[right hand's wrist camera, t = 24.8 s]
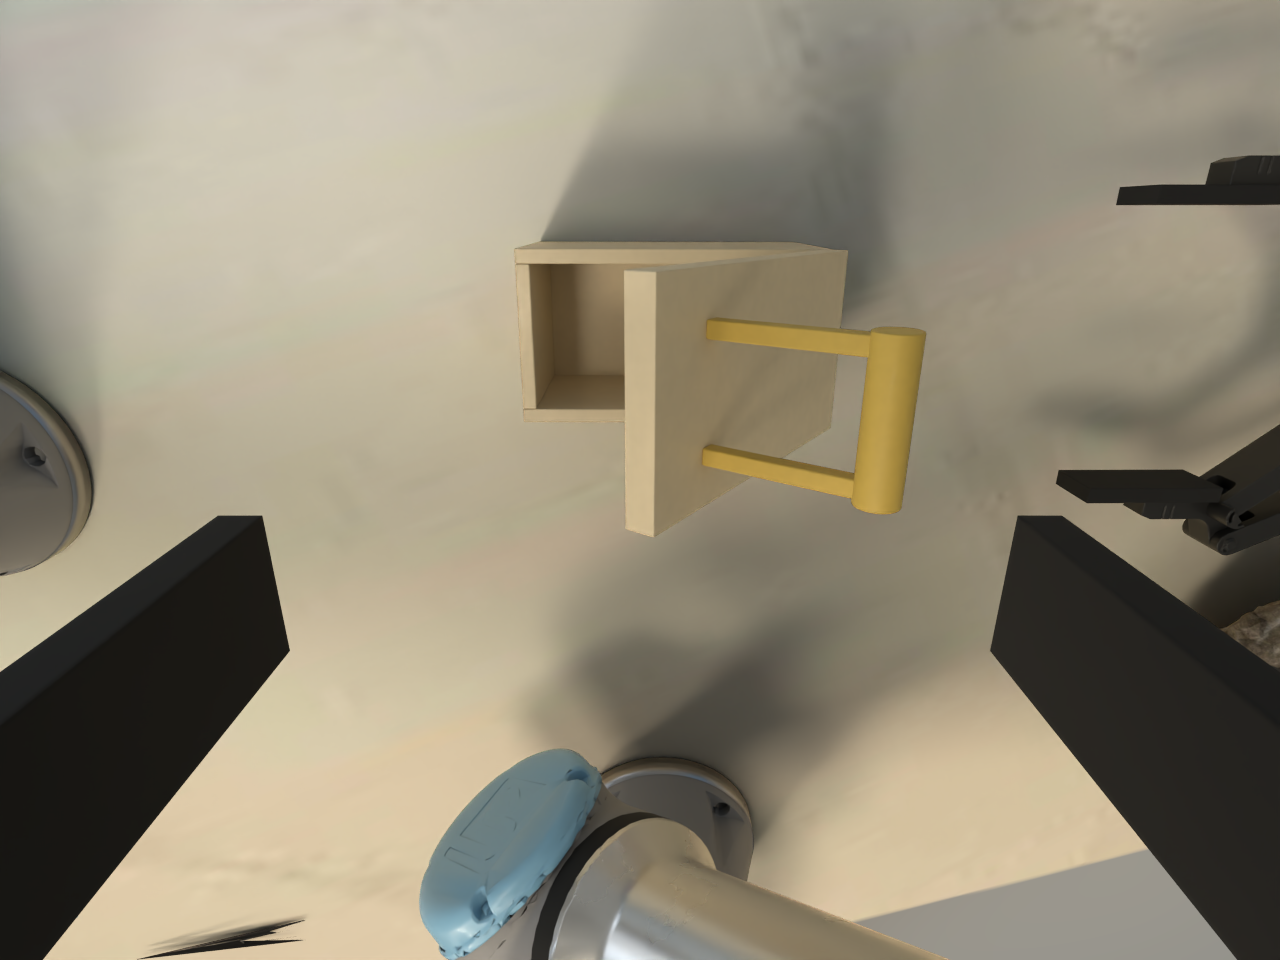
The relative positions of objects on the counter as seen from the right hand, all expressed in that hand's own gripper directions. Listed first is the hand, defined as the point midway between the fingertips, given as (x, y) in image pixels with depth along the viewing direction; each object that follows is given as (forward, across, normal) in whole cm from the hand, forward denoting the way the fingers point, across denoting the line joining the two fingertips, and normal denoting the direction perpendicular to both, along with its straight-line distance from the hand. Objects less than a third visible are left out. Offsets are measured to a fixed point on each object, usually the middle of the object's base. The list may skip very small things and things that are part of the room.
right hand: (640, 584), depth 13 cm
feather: (+35, +43, +58) cm, 80 cm away
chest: (+35, -2, 0) cm, 35 cm away
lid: (+19, -4, 0) cm, 19 cm away
